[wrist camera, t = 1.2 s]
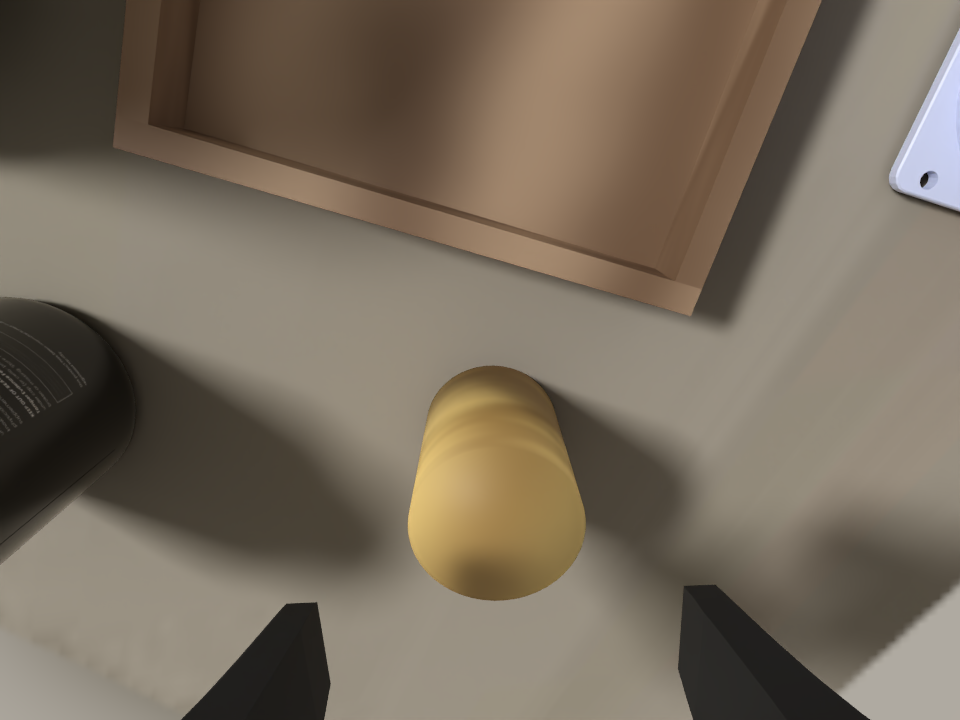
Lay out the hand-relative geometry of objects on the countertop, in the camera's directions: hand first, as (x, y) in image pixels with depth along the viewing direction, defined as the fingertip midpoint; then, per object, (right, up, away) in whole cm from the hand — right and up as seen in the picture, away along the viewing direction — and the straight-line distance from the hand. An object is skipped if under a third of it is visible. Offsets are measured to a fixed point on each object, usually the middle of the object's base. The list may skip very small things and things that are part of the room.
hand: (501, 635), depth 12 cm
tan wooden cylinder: (0, +3, +9) cm, 10 cm away
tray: (0, +15, +5) cm, 16 cm away
